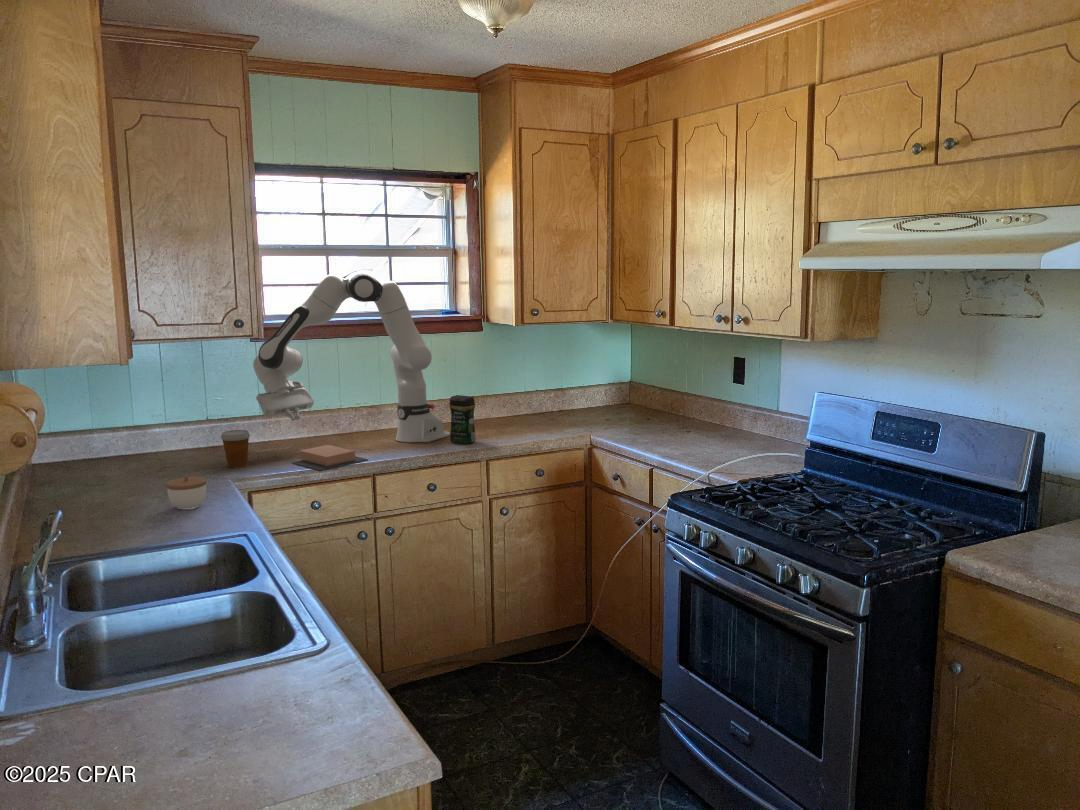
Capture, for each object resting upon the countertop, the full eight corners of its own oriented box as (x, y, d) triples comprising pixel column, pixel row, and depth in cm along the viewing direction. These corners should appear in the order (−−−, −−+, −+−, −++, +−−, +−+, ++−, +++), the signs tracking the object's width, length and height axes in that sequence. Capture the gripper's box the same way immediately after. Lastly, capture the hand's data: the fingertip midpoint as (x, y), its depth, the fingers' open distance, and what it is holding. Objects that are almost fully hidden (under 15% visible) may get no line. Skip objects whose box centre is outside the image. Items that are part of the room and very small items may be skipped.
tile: (327, 444, 305) (354, 450, 295) (328, 453, 305) (355, 460, 295) (299, 450, 296) (326, 457, 286) (300, 459, 296) (326, 466, 286)
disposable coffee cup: (228, 470, 284) (226, 436, 282) (219, 465, 291) (216, 432, 289) (256, 466, 290) (253, 432, 288) (246, 461, 297) (243, 428, 295)
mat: (339, 453, 308) (339, 452, 308) (368, 460, 297) (367, 459, 297) (292, 463, 293) (292, 462, 293) (320, 471, 282) (320, 469, 282)
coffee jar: (446, 443, 323) (445, 396, 320) (458, 439, 330) (457, 393, 327) (467, 445, 319) (466, 398, 316) (478, 441, 326) (477, 394, 323)
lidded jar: (196, 499, 249) (194, 469, 247) (215, 506, 242) (212, 474, 241) (161, 508, 241) (158, 476, 239) (180, 514, 234) (177, 482, 233)
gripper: (256, 389, 301) (274, 418, 296) (305, 381, 316) (322, 409, 312) (251, 400, 305) (268, 429, 300) (300, 392, 320) (316, 419, 315)
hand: (296, 419), depth 306 cm, fingers closed
